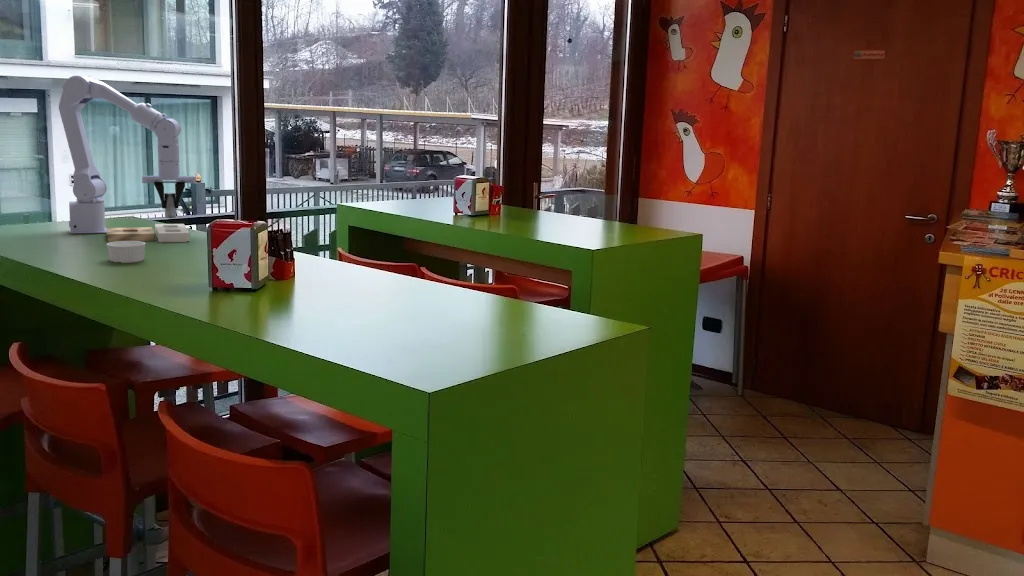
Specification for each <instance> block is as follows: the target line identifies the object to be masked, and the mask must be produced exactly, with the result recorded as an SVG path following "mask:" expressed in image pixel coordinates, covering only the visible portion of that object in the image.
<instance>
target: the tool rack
mask: <svg viewBox="0 0 1024 576" xmlns="http://www.w3.org/2000/svg"><path fill="white" fill-rule="evenodd" d="M154 234H156V235H155V236H156V238H157V241H158V242H159V243H188V242H187V241H190V232H189V230H188V228H187V227H186V225H185V224H184V223H155V224H154Z"/></svg>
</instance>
